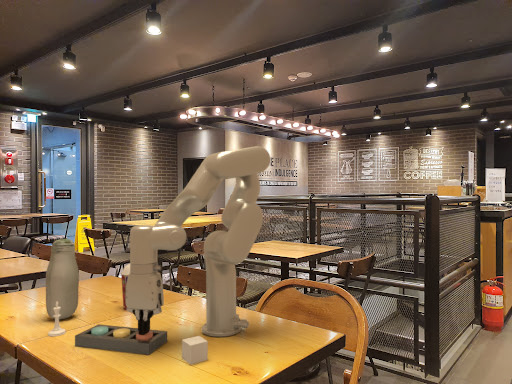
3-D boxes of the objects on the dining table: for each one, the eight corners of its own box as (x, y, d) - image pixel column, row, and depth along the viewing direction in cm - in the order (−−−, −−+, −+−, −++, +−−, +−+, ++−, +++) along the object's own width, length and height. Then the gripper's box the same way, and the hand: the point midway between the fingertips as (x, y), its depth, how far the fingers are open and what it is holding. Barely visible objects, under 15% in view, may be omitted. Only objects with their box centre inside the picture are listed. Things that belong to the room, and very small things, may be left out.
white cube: (198, 354, 102) (198, 335, 103) (207, 360, 98) (207, 341, 99) (181, 358, 100) (181, 339, 100) (190, 365, 96) (190, 345, 96)
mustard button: (133, 337, 111) (133, 329, 111) (123, 343, 107) (123, 334, 107) (119, 336, 113) (119, 327, 113) (109, 342, 108) (109, 333, 108)
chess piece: (46, 337, 115) (46, 304, 116) (50, 331, 120) (50, 300, 120) (63, 335, 117) (63, 303, 117) (67, 330, 122) (67, 299, 122)
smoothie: (136, 311, 141) (136, 258, 141) (116, 310, 142) (116, 257, 143) (147, 305, 149) (147, 254, 149) (128, 304, 150) (128, 254, 151)
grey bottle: (62, 324, 127) (62, 241, 128) (39, 321, 131) (39, 240, 131) (84, 315, 137) (84, 238, 137) (62, 312, 140) (62, 237, 141)
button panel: (167, 341, 111) (167, 331, 111) (148, 355, 102) (148, 343, 102) (98, 333, 118) (98, 324, 118) (74, 346, 108) (74, 335, 108)
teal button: (111, 335, 113) (111, 326, 113) (101, 341, 109) (101, 332, 109) (98, 334, 115) (98, 325, 115) (87, 339, 110) (87, 330, 110)
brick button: (155, 340, 109) (155, 331, 109) (147, 346, 105) (147, 336, 105) (141, 338, 111) (141, 329, 111) (132, 344, 106) (132, 335, 106)
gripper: (173, 267, 110) (174, 331, 109) (129, 265, 114) (129, 326, 113) (160, 272, 102) (160, 340, 102) (113, 270, 106) (113, 335, 106)
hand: (144, 333), depth 108 cm, fingers closed
